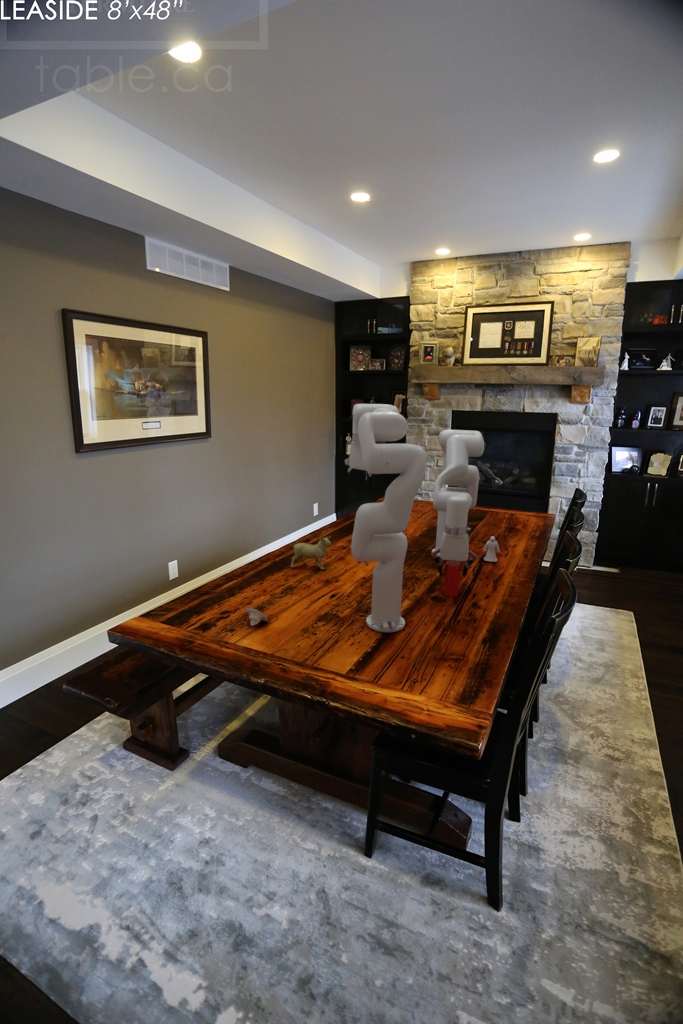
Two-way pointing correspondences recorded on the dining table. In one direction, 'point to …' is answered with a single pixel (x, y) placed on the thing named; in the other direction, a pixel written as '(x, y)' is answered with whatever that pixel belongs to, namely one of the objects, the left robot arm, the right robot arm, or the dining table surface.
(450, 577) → the tin
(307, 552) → the toy
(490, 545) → the figurine
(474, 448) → the right robot arm
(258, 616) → the seashell
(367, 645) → the dining table surface
